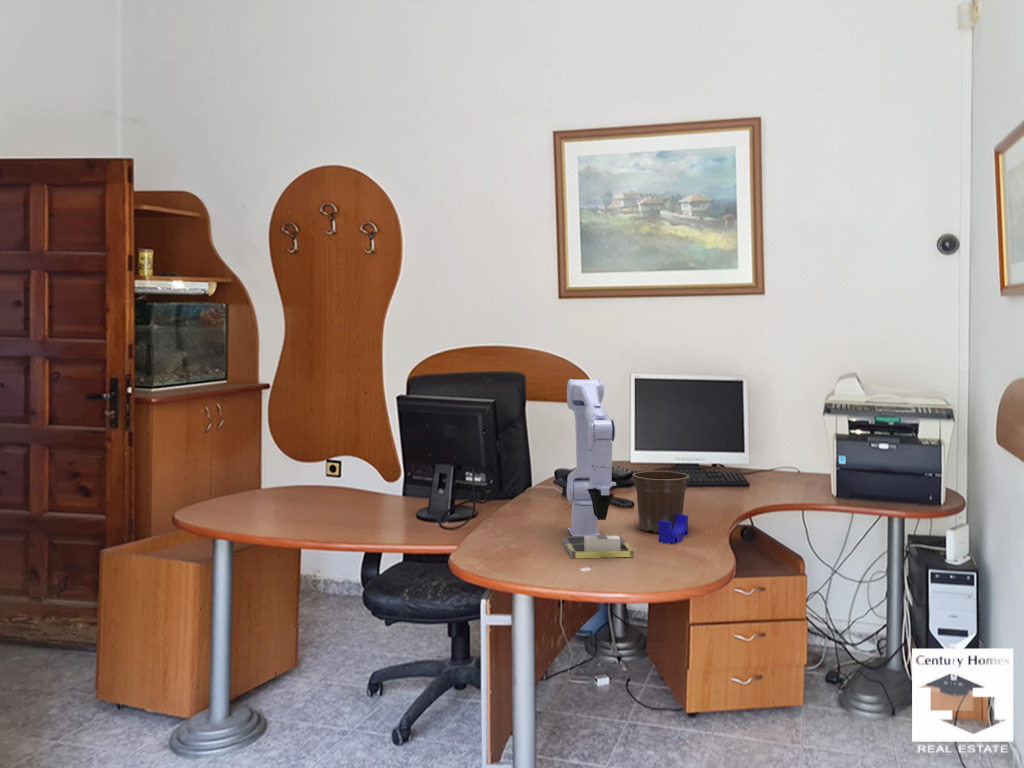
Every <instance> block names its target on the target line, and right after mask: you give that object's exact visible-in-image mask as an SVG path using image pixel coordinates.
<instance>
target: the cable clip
mask: <svg viewBox="0 0 1024 768" xmlns="http://www.w3.org/2000/svg"><path fill="white" fill-rule="evenodd" d="M688 533H689V515H688V514H683V515H682V514H677V515H676V521H675V525H674V528H673V530H672V524H671V522H669V521H663V520H661V521H659V533H658V543H660V542H663V543H662V544H666V543H670V544H669V545H672V544H674V545H676V544H675V543H677V542H679V543H681V542H683V541H684V538H685V537H684V536H685V535H686V537H688V536H689V535H688ZM687 535H688V536H687ZM683 537H684V538H683ZM682 540H683V541H682ZM680 541H681V542H680ZM677 544H678V543H677Z"/></svg>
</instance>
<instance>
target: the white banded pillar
mask: <svg viewBox="0 0 1024 768" xmlns="http://www.w3.org/2000/svg"><path fill="white" fill-rule="evenodd" d="M619 536H620V535H606V534H600V535H597V536H584V543H583V544H584V550H583V552H586V551H621V550H620V537H619Z"/></svg>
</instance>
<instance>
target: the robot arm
mask: <svg viewBox="0 0 1024 768" xmlns="http://www.w3.org/2000/svg"><path fill="white" fill-rule="evenodd" d="M566 384H567V385H566V403H567V409H569V410H571V411H572V412H573V415H574V418H575V419H574V421H575V422H574V423H575V426H574V427H575V455H576V457H575V458H576V468H575V469H574V470H572V471H571V472H570V473H569V474H567V480H566V481H567V482H566V497H567V500H568V502H570V503H571V527H567V530H568V531H569V533H570V535H571V537H584V536H597V535H601V534H600V532H599V531H598V521H605V520H607V515H608V511H609V507H610V504H611V501H612V500H613V498H614V493H613V492H610V489H611V488H612V487H615V486H617V483H616V481H612V479H613V478H612V477H613V442H614V441H615V437H616V425H615V421H614V419H613V418H611V417H610V418H609V416H608V413H607V410H606V407H605V406H604V405H603V404H602V401H603V398H604V394H605V386H604V382H603V380H602V379H600V378H597V379H573V378H570V379H568V381H567V383H566Z"/></svg>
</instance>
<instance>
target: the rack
mask: <svg viewBox="0 0 1024 768" xmlns="http://www.w3.org/2000/svg"><path fill="white" fill-rule="evenodd" d="M618 536H619V537H620V549H624V550H620V551H586V552H584V537H573V536H562V544H563V543H564V544H563V545H565V546H564V548H565V549H566V551H567V552H569V553H568V554H570V555H569V557H570V556H571V557H570V559H602V558H601V557H634V555H635V554H634V553H635V552H634V549H632V547H631V545H630V544H628V542H626V541H625V540H624V539H623V538H622V536H620V535H618Z"/></svg>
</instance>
